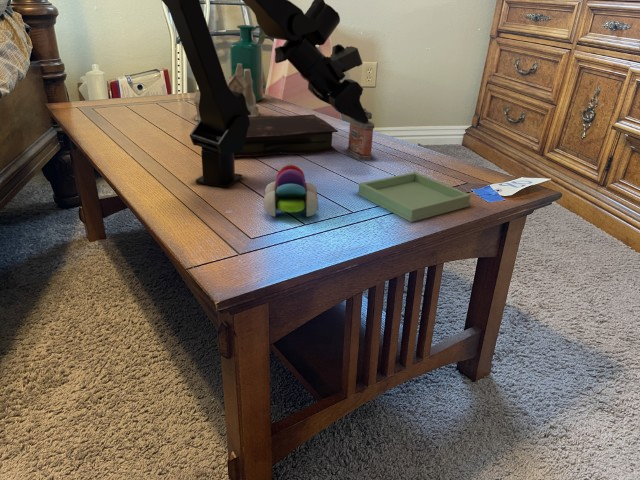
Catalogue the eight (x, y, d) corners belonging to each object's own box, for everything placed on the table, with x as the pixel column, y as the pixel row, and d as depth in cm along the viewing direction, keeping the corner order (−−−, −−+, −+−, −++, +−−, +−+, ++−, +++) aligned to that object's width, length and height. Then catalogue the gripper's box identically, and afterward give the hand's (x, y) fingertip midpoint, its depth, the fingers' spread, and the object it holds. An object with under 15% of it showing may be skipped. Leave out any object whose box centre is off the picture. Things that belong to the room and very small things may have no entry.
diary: (211, 136, 120) (210, 115, 118) (312, 132, 128) (313, 112, 126) (224, 160, 105) (223, 136, 102) (338, 153, 112) (339, 131, 110)
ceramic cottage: (266, 112, 144) (261, 57, 137) (244, 128, 130) (238, 67, 123) (215, 111, 148) (208, 56, 141) (189, 126, 134) (180, 66, 127)
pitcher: (229, 101, 158) (226, 24, 148) (239, 96, 165) (237, 22, 155) (259, 104, 156) (258, 26, 146) (268, 99, 163) (268, 24, 154)
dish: (410, 222, 80) (412, 209, 80) (358, 194, 90) (358, 183, 90) (469, 206, 88) (471, 194, 87) (414, 182, 97) (415, 171, 97)
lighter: (343, 150, 115) (346, 105, 110) (357, 149, 116) (360, 104, 112) (361, 161, 108) (364, 113, 104) (375, 159, 110) (379, 112, 105)
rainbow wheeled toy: (316, 199, 87) (317, 159, 84) (317, 223, 79) (319, 178, 75) (266, 198, 87) (266, 157, 84) (262, 222, 78) (262, 177, 75)
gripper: (356, 36, 91) (405, 97, 99) (324, 27, 107) (368, 81, 115) (313, 82, 93) (364, 139, 101) (287, 67, 108) (333, 117, 117)
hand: (358, 116), depth 108 cm, fingers open, 9 cm apart
